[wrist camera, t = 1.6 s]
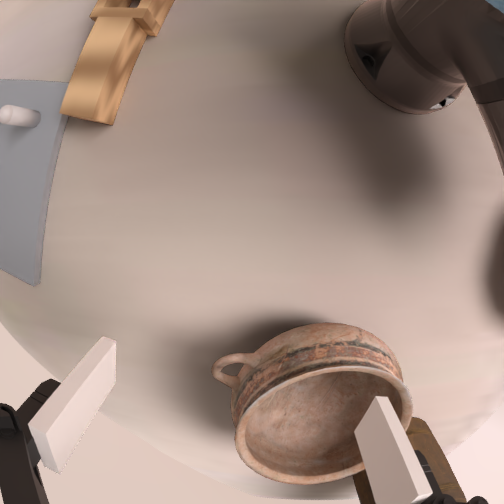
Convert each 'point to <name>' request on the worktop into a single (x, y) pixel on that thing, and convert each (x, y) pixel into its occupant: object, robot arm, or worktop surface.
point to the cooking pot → (310, 400)
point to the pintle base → (27, 170)
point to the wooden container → (435, 457)
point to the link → (110, 57)
